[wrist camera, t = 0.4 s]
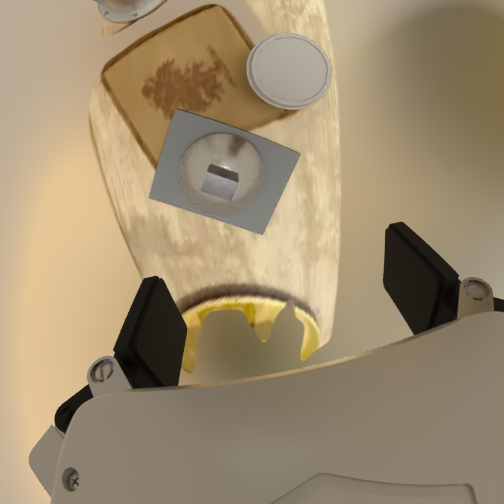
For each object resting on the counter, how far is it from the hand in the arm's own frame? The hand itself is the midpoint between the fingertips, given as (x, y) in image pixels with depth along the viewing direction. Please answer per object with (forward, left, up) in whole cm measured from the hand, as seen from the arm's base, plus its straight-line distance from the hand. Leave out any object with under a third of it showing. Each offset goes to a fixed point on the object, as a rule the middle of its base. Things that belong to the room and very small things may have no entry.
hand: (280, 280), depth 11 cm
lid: (-2, -5, -32) cm, 33 cm away
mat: (-2, -5, -33) cm, 33 cm away
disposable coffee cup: (0, +12, -33) cm, 35 cm away
